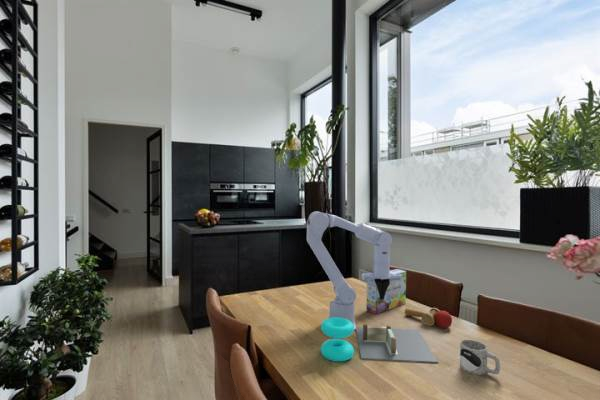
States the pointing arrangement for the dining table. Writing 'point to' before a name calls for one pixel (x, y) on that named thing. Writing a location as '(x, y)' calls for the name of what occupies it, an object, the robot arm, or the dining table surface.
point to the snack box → (386, 294)
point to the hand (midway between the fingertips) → (381, 298)
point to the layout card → (397, 347)
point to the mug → (476, 358)
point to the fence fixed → (375, 333)
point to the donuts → (337, 347)
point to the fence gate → (391, 341)
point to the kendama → (432, 317)
